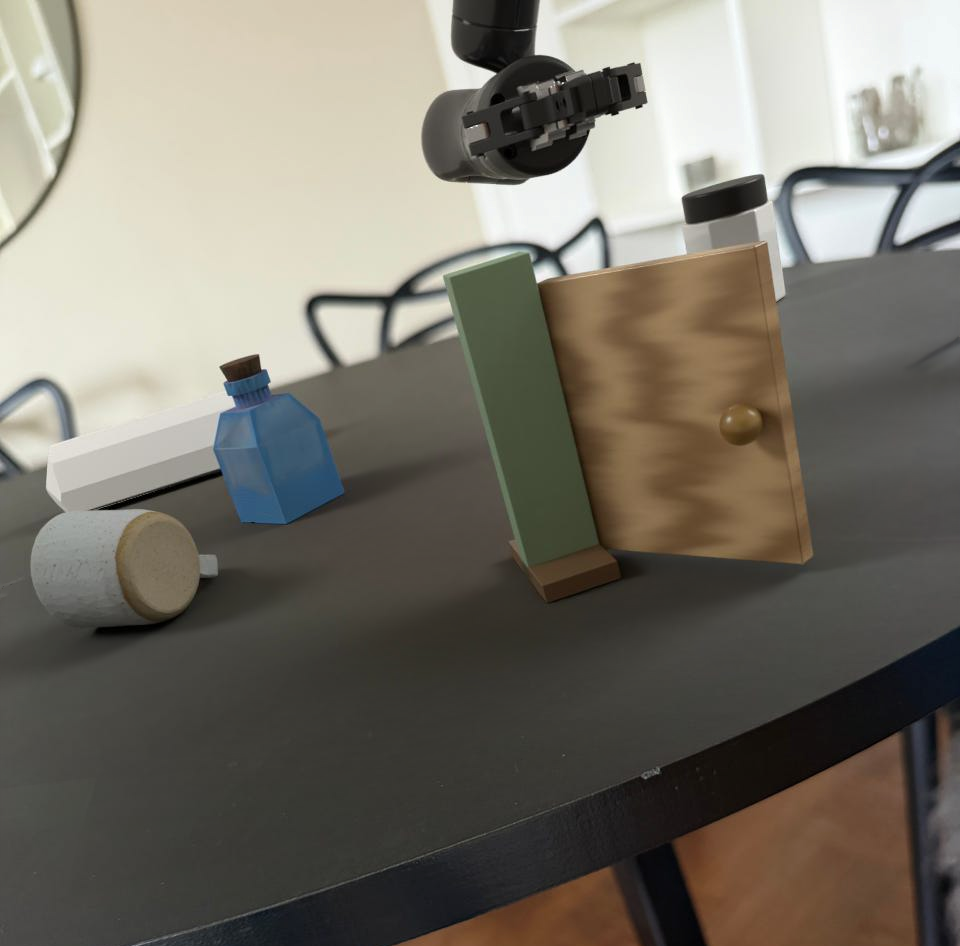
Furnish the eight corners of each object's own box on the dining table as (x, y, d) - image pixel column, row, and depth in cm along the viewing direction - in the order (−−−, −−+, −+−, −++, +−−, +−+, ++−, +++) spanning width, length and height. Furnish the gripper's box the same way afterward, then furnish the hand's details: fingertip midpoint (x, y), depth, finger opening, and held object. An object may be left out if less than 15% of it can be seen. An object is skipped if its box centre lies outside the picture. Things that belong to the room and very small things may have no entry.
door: (814, 556, 47) (768, 239, 41) (783, 582, 45) (730, 257, 40) (609, 541, 55) (548, 278, 50) (577, 563, 54) (510, 294, 48)
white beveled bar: (31, 496, 97) (274, 419, 99) (28, 447, 101) (261, 374, 103) (67, 546, 103) (295, 473, 105) (63, 498, 107) (283, 429, 109)
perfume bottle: (344, 492, 82) (294, 344, 77) (286, 524, 79) (228, 370, 74) (299, 492, 87) (248, 352, 82) (241, 522, 83) (184, 376, 78)
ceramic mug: (151, 643, 62) (100, 526, 59) (59, 648, 66) (7, 538, 63) (252, 571, 70) (212, 465, 67) (166, 579, 74) (124, 479, 71)
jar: (779, 290, 109) (761, 170, 104) (792, 302, 101) (774, 173, 97) (694, 312, 111) (673, 196, 106) (702, 325, 103) (679, 200, 98)
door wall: (577, 535, 59) (507, 249, 53) (621, 578, 52) (545, 253, 45) (512, 557, 59) (433, 272, 52) (546, 603, 52) (459, 280, 45)
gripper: (424, 91, 73) (468, 53, 57) (599, 39, 74) (689, -12, 58) (453, 202, 76) (502, 195, 60) (621, 151, 77) (712, 131, 61)
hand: (594, 93), depth 59 cm, fingers closed
